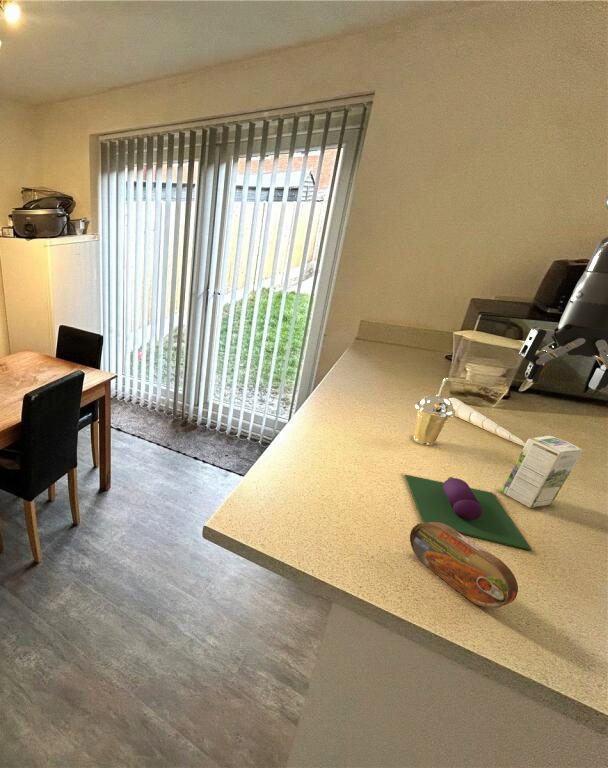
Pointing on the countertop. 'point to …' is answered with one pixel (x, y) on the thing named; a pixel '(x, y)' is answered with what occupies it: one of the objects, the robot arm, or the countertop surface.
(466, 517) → the eggplant
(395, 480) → the countertop surface
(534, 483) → the syrup box
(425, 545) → the tin
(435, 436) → the cup with straw
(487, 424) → the unicorn horn
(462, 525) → the cloth
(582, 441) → the countertop surface
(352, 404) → the countertop surface
